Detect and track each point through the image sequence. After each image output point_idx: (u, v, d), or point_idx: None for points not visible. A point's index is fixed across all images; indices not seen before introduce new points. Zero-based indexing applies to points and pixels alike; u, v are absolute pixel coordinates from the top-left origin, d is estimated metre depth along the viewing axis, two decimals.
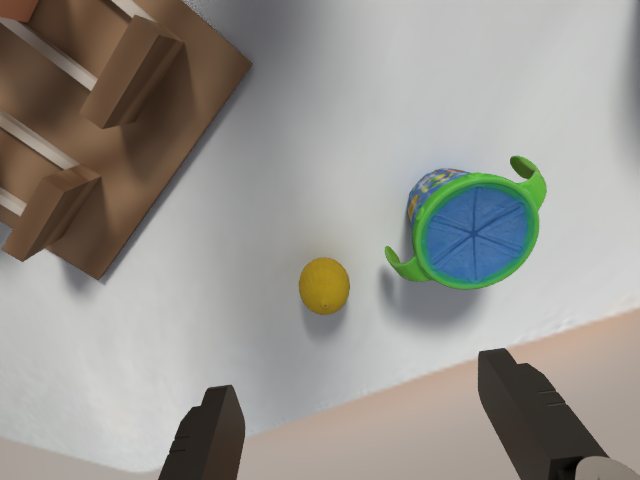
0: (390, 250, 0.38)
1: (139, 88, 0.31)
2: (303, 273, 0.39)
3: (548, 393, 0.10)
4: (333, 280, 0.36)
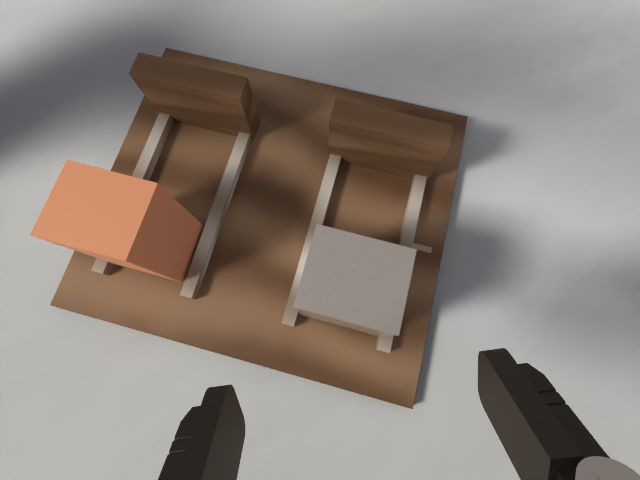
0: None
1: None
2: None
3: (548, 393, 0.10)
4: None
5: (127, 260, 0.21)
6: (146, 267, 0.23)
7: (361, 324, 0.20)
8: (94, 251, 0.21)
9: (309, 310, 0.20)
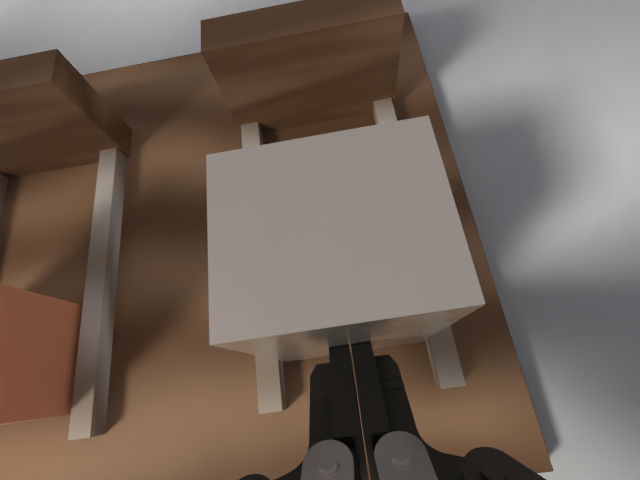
0: None
1: None
2: None
3: (394, 380, 0.11)
4: None
5: None
6: None
7: (385, 315, 0.08)
8: None
9: (251, 336, 0.08)
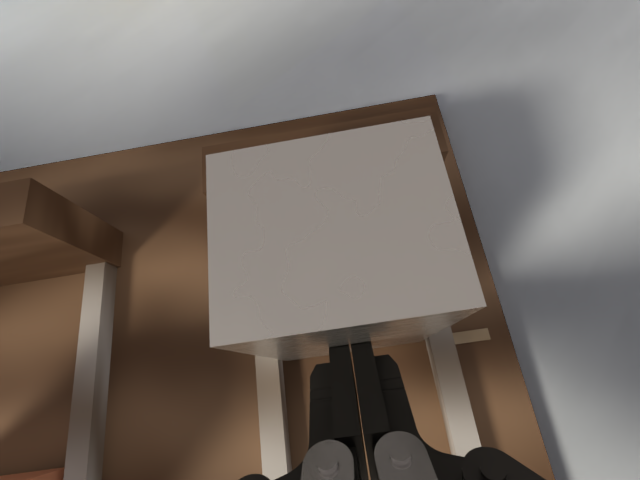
0: None
1: None
2: None
3: (394, 380, 0.11)
4: None
5: None
6: None
7: (386, 318, 0.08)
8: None
9: (251, 338, 0.08)
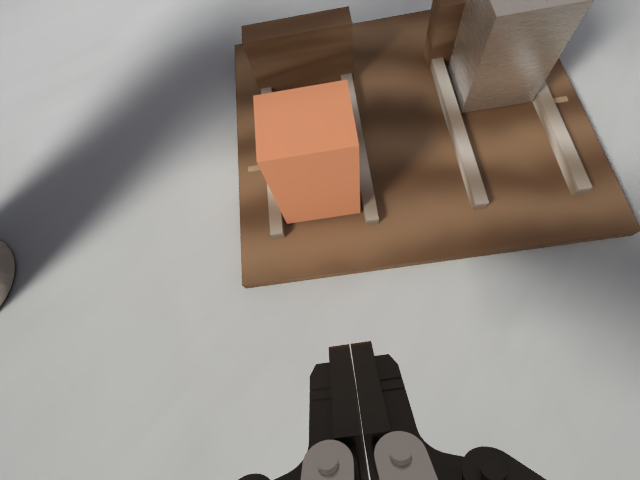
0: None
1: None
2: None
3: (394, 380, 0.11)
4: None
5: None
6: (359, 168, 0.23)
7: (559, 4, 0.23)
8: (324, 150, 0.21)
9: (511, 13, 0.23)
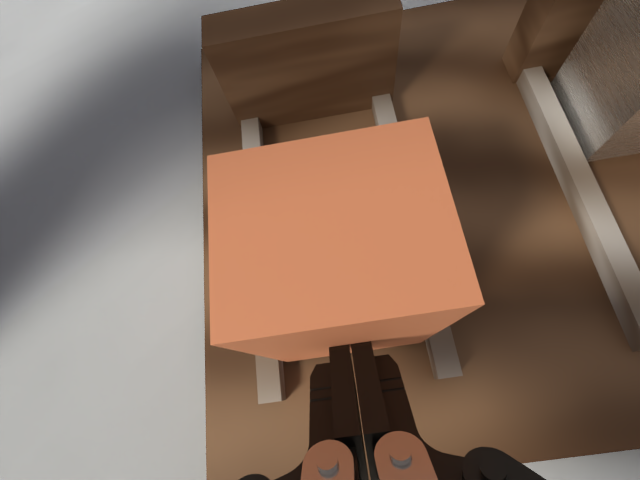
0: None
1: None
2: None
3: (394, 380, 0.11)
4: None
5: (482, 302, 0.08)
6: None
7: None
8: (391, 315, 0.08)
9: None
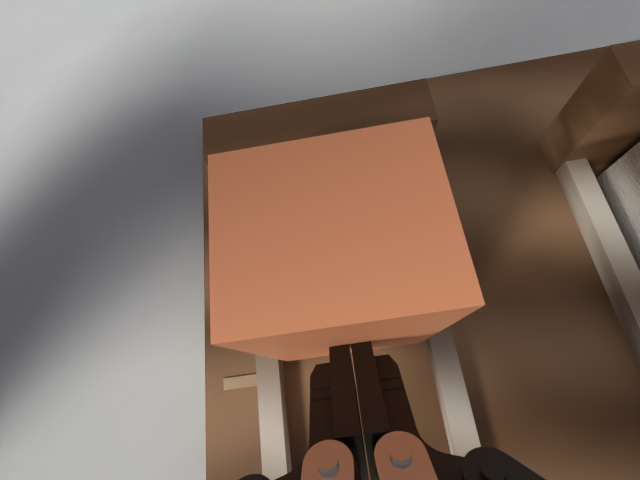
0: None
1: None
2: None
3: (394, 380, 0.11)
4: None
5: (482, 302, 0.08)
6: None
7: None
8: (391, 315, 0.08)
9: None
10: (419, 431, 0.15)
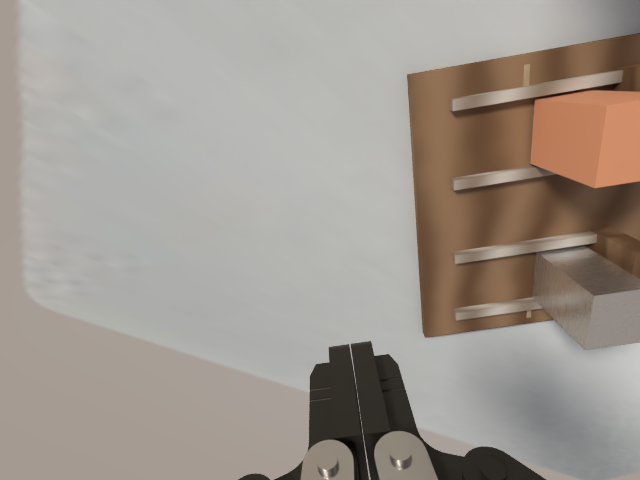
0: None
1: None
2: None
3: (394, 380, 0.11)
4: None
5: (594, 187, 0.28)
6: (574, 179, 0.30)
7: (588, 331, 0.33)
8: (599, 162, 0.27)
9: (593, 304, 0.32)
10: (491, 161, 0.36)
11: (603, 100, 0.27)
